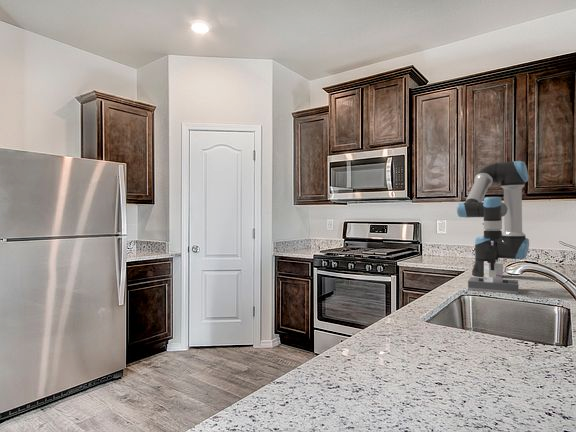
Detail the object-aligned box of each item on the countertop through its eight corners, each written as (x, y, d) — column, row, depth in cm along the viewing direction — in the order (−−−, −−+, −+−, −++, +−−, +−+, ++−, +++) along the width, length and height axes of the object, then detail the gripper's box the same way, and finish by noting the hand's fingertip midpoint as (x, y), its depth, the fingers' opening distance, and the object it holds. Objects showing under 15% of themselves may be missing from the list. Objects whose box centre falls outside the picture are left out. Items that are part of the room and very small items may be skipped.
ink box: (503, 288, 171) (503, 262, 171) (492, 288, 171) (492, 262, 172) (493, 285, 180) (493, 260, 180) (483, 285, 180) (483, 260, 180)
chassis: (470, 285, 187) (470, 277, 187) (517, 288, 177) (517, 280, 177) (468, 289, 175) (468, 281, 175) (518, 293, 165) (518, 284, 165)
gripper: (485, 229, 189) (485, 271, 189) (481, 230, 167) (482, 278, 167) (502, 229, 185) (502, 272, 185) (501, 231, 163) (501, 279, 163)
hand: (493, 275), depth 176 cm, fingers open, 13 cm apart
